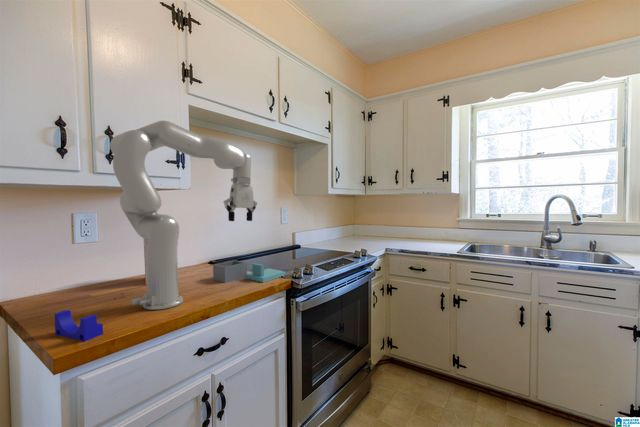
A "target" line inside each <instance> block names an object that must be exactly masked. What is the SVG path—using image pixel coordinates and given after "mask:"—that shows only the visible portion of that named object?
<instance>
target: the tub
mask: <svg viewBox="0 0 640 427" xmlns="http://www.w3.org/2000/svg"><path fill="white" fill-rule="evenodd" d="M247 264H248V263H247V262H246V261H245V262H244V261H241V260H240V261H239V260H236V259H235V260H229V261H225V262H220V263H219V262H218V263H215V264H212V270H213V271H212V277H213V278H212V279H213V280H214V281H216V282H217V281H218V282H221V283H225V284H227V283H230V282H233V281H238V280H241V279H244V278H245V279H246V274H248V272H247Z"/></svg>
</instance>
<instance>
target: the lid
mask: <svg viewBox="0 0 640 427" xmlns="http://www.w3.org/2000/svg"><path fill="white" fill-rule="evenodd" d="M251 265H252V266H251V269H252V271H251V272H249V273H247V274H246V277H245V279H246V280H250V279H251V281H254V280H255V282H259V281H260V282H259V283H263V282H264V283H267V282H270V281H273V280H276V279H275V278H277V279H280V278H282V277H281V276H283V277H285V276H284V275H287V274H286V271H284V270H279V269H273V268H265V264H261V263H257V262H256V263H255V262H254V263H252V264H251ZM279 277H280V278H279ZM272 279H273V280H272ZM269 280H270V281H269ZM266 281H267V282H266Z"/></svg>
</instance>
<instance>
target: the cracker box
mask: <svg viewBox="0 0 640 427" xmlns="http://www.w3.org/2000/svg"><path fill="white" fill-rule="evenodd" d="M148 241H149V240H148V239H144V238H143V256H144V275H145V276H144V278H145V285H146V286H147V246H148Z"/></svg>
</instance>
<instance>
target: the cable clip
mask: <svg viewBox="0 0 640 427" xmlns="http://www.w3.org/2000/svg"><path fill="white" fill-rule="evenodd" d="M53 315H54V328H55V329H54V330H55V331H54V334H55V335H56V336H59V337H65V338H70V339H74V340H76V341H77V340H78V341H80V342H87V341H90V340H92V339H95V338H97V337H100V336H102V335H103V334H104V325H103V323H98V320H97V319H98V318H97V317H98V316H97V314H90V315H88V316H85V317H82V318H80V320H79V321H80V322H79V326H78V325H77V324H76V323H75V321H74V319H73V316H72V310H70V309H66V310H62V311H59V312H55V313H54V314H53Z"/></svg>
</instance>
